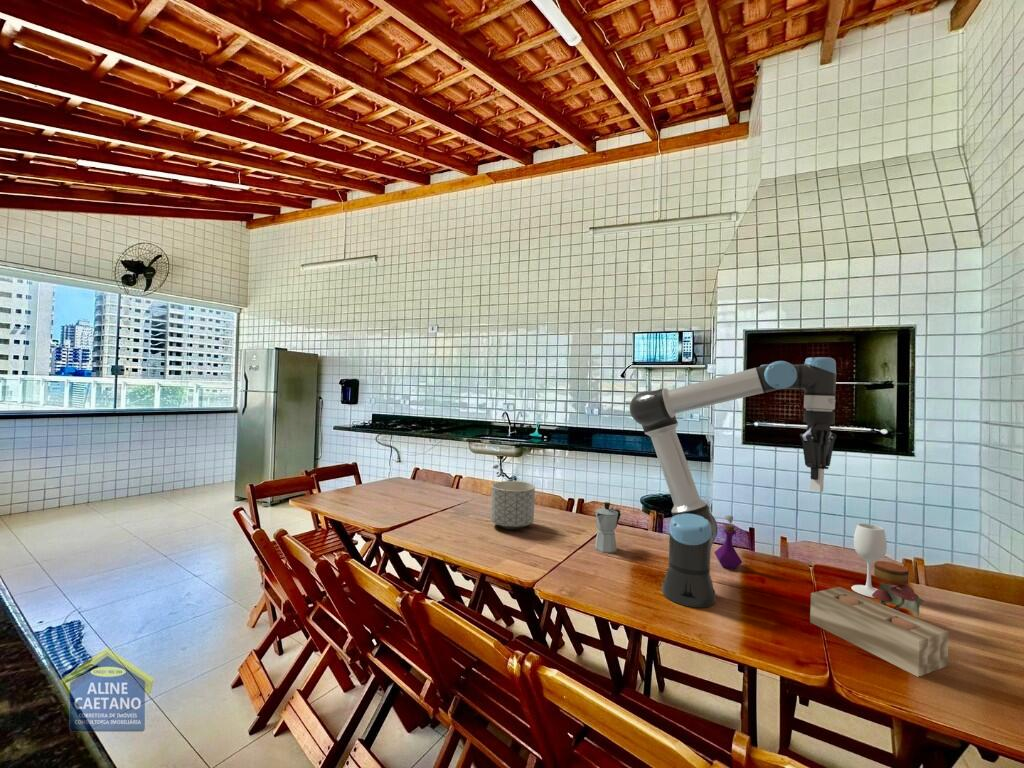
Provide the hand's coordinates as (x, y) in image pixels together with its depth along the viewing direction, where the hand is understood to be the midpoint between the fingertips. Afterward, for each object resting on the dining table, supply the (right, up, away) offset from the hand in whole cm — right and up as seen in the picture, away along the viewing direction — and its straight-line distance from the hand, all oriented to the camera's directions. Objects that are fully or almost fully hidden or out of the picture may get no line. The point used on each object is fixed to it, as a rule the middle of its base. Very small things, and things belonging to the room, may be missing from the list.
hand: (816, 490), depth 128 cm
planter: (-89, -32, +65) cm, 115 cm away
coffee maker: (-52, -33, +43) cm, 75 cm away
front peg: (+5, -34, -23) cm, 41 cm away
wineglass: (+24, -35, +11) cm, 45 cm away
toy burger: (+17, -35, -6) cm, 40 cm away
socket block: (+3, -34, -17) cm, 38 cm away
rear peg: (0, -34, -11) cm, 36 cm away
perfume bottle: (-12, -34, +29) cm, 46 cm away
